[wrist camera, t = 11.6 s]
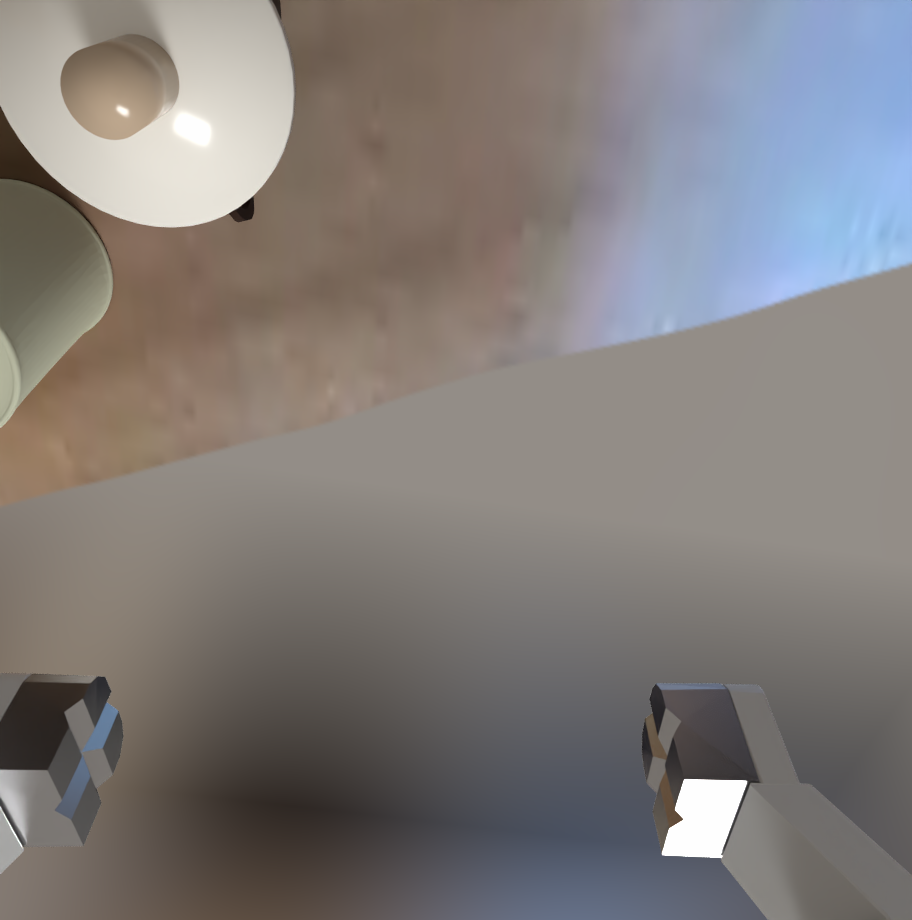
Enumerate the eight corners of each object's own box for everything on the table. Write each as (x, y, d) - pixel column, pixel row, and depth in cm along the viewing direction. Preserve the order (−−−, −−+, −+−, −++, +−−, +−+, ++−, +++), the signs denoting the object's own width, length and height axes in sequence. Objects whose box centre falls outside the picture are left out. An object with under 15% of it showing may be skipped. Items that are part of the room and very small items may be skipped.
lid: (271, -113, 26) (242, -118, 23) (313, 218, 32) (295, 254, 29) (-57, -104, 26) (-137, -108, 23) (47, 223, 33) (-4, 260, 29)
